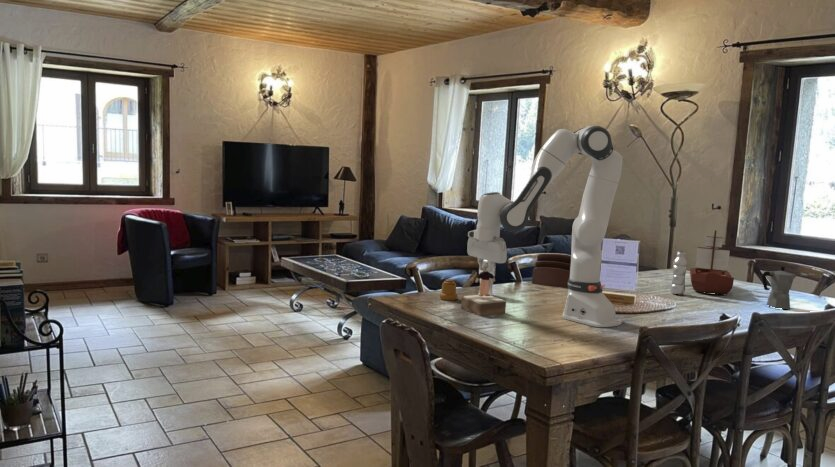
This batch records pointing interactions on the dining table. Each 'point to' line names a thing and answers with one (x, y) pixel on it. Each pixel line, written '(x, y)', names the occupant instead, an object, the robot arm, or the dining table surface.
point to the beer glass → (489, 278)
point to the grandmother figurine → (485, 280)
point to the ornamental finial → (448, 290)
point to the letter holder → (552, 270)
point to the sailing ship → (712, 268)
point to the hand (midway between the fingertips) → (485, 271)
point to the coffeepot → (779, 288)
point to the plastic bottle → (679, 273)
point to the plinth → (483, 305)
